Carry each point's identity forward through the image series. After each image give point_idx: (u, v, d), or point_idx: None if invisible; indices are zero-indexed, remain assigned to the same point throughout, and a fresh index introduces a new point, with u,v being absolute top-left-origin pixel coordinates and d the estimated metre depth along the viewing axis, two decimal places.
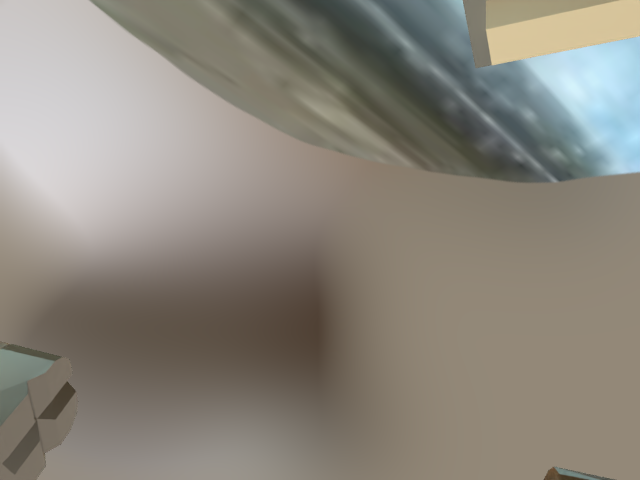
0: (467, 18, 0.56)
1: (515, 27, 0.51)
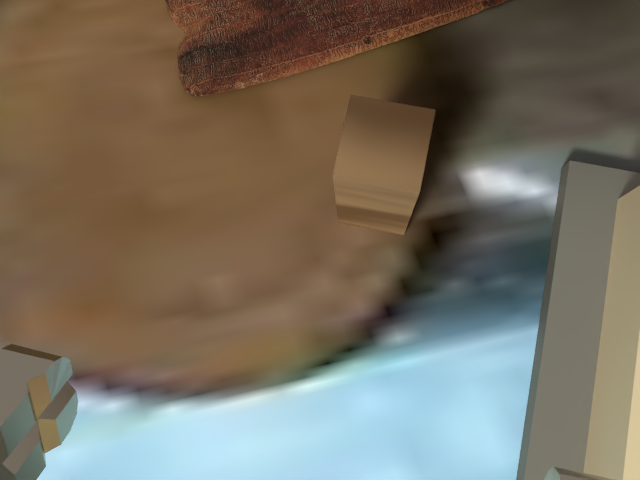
0: None
1: (631, 473, 0.29)
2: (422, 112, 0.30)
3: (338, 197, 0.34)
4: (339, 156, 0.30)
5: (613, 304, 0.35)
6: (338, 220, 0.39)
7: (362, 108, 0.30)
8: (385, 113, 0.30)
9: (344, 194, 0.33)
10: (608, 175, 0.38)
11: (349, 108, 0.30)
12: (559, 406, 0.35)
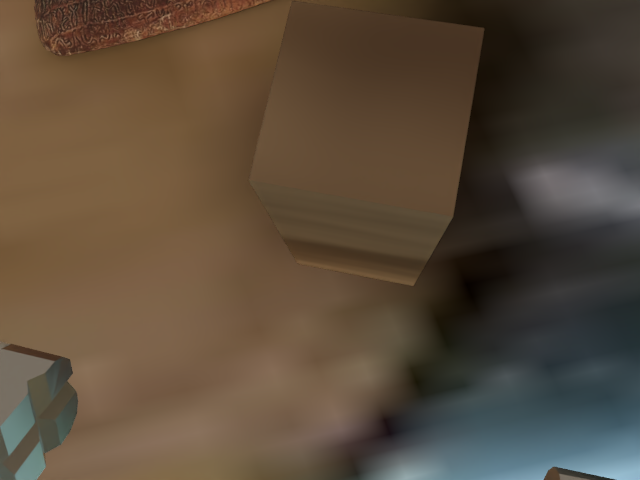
0: None
1: None
2: (454, 34, 0.13)
3: (281, 226, 0.17)
4: (264, 137, 0.13)
5: None
6: (297, 261, 0.22)
7: (318, 29, 0.13)
8: (370, 38, 0.13)
9: (289, 219, 0.16)
10: None
11: (288, 30, 0.13)
12: None
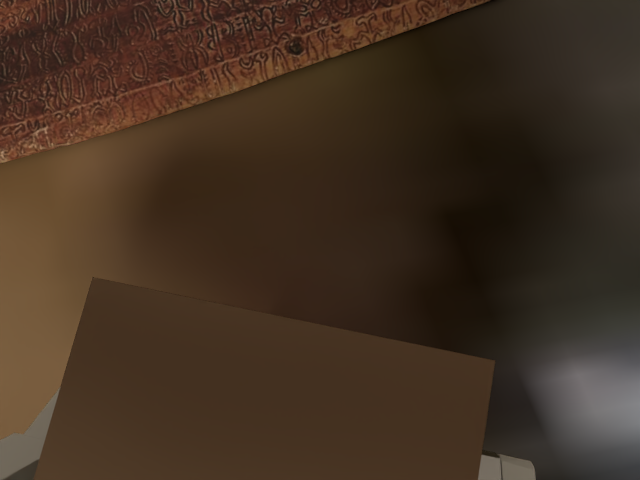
0: None
1: None
2: (428, 373, 0.06)
3: None
4: None
5: None
6: None
7: (140, 348, 0.06)
8: (248, 376, 0.06)
9: None
10: None
11: (80, 347, 0.06)
12: None
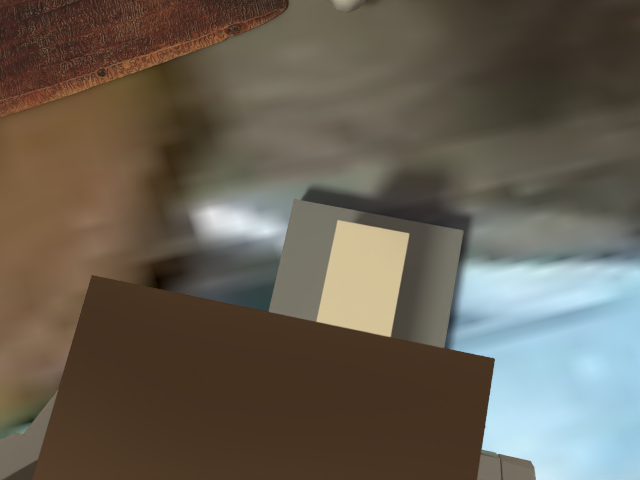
0: None
1: None
2: (428, 371, 0.06)
3: None
4: None
5: None
6: None
7: (140, 346, 0.06)
8: (247, 373, 0.06)
9: None
10: (333, 215, 0.35)
11: (79, 345, 0.06)
12: None
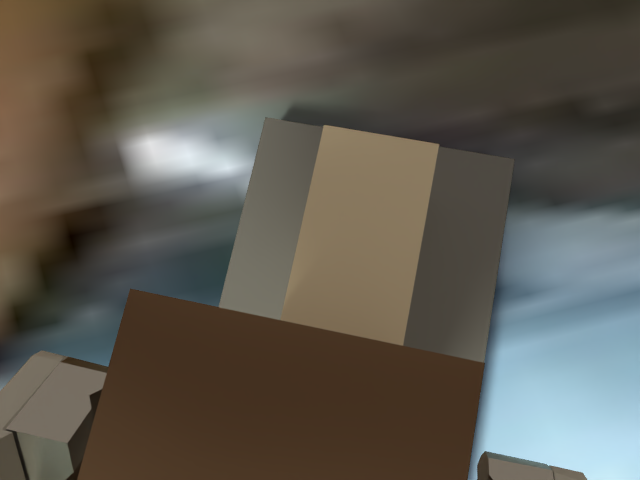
0: None
1: None
2: (427, 373, 0.07)
3: None
4: None
5: None
6: None
7: (174, 351, 0.07)
8: (269, 375, 0.07)
9: None
10: None
11: (120, 351, 0.07)
12: None
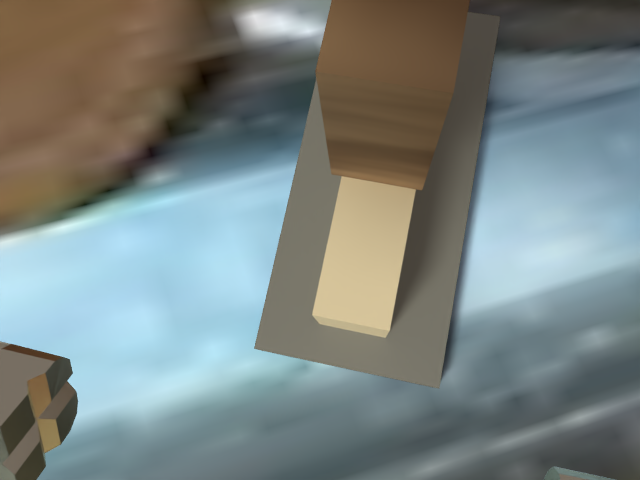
0: (336, 364, 0.32)
1: (330, 267, 0.28)
2: None
3: (328, 123, 0.23)
4: (325, 43, 0.19)
5: None
6: (331, 170, 0.28)
7: None
8: None
9: (336, 114, 0.22)
10: None
11: None
12: (305, 232, 0.33)
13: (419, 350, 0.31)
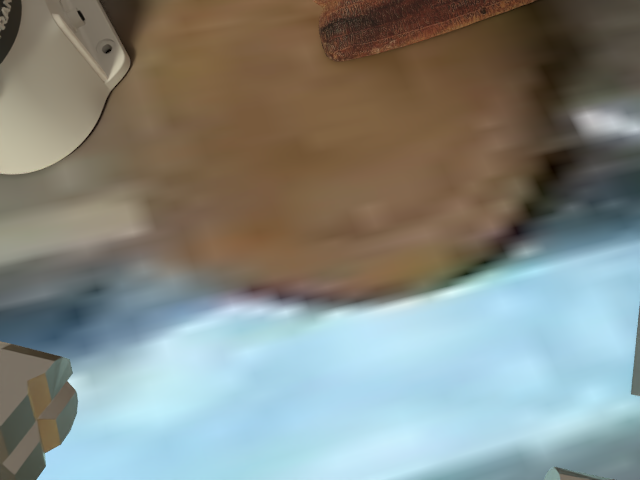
0: None
1: None
2: None
3: None
4: None
5: None
6: None
7: None
8: None
9: None
10: None
11: None
12: None
13: None
